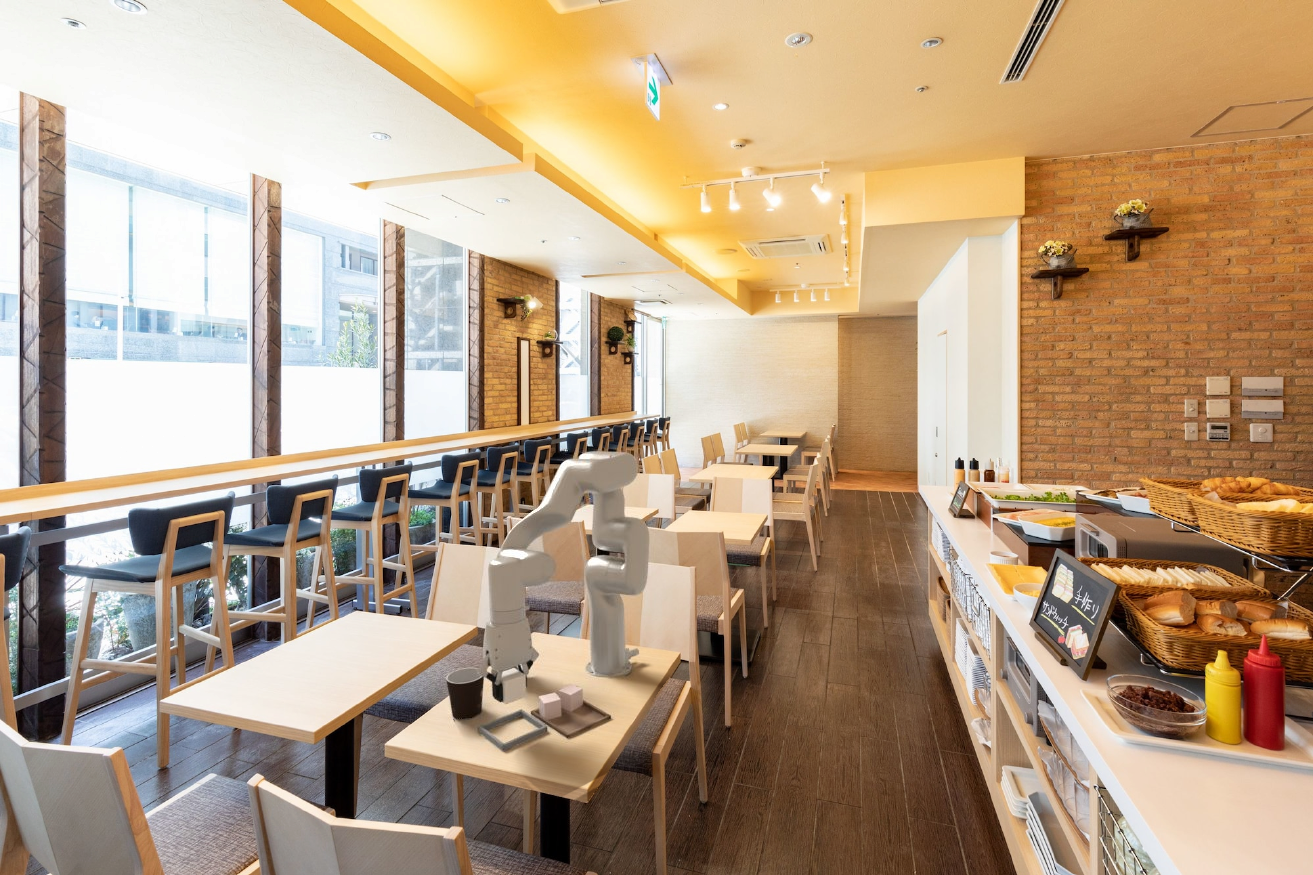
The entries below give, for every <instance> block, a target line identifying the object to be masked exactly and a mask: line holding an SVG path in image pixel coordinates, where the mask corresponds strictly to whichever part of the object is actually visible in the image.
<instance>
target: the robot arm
mask: <svg viewBox="0 0 1313 875" xmlns="http://www.w3.org/2000/svg"><path fill="white" fill-rule="evenodd" d="M638 473H639V464H638V460H637V458H636V456H634V455H633V454H631V453H629V452H625V451H602V450H601V451H599V450H596V451H595V450H593V451H586V452H583V453H582V454H580V455H579V456H578V458H570V459H569V458H568V459H566V460H564V461H563V462H561V464H560V465H559V467H558V468H557V471H556V472H555V475H554V476H553V479H552V480H551V483H550V484H549V486H548V488H547V491H546V493H545V495H544V497H542V498H543V499H542V501H541V502H540V504H539V506H538V507H537V508H535V509H534V510H532V511H531V512H530V513H528V514H527V515H526V516H525V517H524V518H522V519H521V520H520V521H518V523H516V524H515V525H514V526H513V527H512V528H511V529H510V531H509V532H508V533H507V535H506V537H505V538H504V541H503V543H502V544H501V546H500V548H499V550H498V552H497V556H496V558H493V559H492V560H491V561H490V562H489V563H488V567H487V568H488V600H489V601H488V602H489V606H488V607H489V621H488V622H485V623H486V624H485V629H484V633H483V634H484V636H483V647H482V661H481V664H480V665H479V667H478V668H479V669H478V670H477V673H478V674H479V675H481V676H483V677H484V679H487V680H488V681H489V682H491V689H492V691H491V692H492V694H491V695H492V697H493V699H494V700H496V701H498V702H499V703H503V685H502V683H501V677H502V673H503V670H504V669H508V668H511V667H514V666H517V669H518V671H520V672H522V673H524V674H525V675H526V688H527V687H528V682H527V681H528V678H527V676H528V675H529V673H530V670H531V668H532V666H533V664H534V662H536V661H537V659H538V658H539V656H540V653H539V652H538V651H537V649H536V648H535V647H533V640H532V632H531V627H530V622H529V619H528V616H527V615H526V612H527V611H529V610H530V607H531V606H530V605H529V604H528V603H525V599H526V598H525V588H528V587H529V588H530V587H536V586H541V585H544V584H547V583H548V582H550V580H551V579H553V577H554V575H555V574H556V569H557V564H556V561H555V558H554V557H553V556H552V555H551V554H549V553H547V552H544V551H540V550H539V551H538V550H532V549H528V548H529V547H530V545H531V544H532V543H533V542H535V541H536V539H538V538H540V537H541V536H544V535H546V534H549V533H551V532H553V531H556V530H558V529H561V528H564V527H566V526H568V525H569V524H570V523H571V522H572V521H573V518H574V516H575V514H576V512H577V510H578V509H579V508H578V507H579V505H580V504H581V502H582V499H583V498H584V495H585V494H592V499H593V503H592V504H593V508H592V523H591V524H592V526H591V527H592V528H591V541H592V544H593V545H594V547H595V548H597V549H599V550H602V551H607V552H613V553H614V552H616V553H623V554H624V557H620V556H614V555H607V554H606V555H605V554H602V555H601V554H600V555H595V556H592V557H591V558H589V559H588V560H587V562H586V564H585V566H584V570H583V577H584V584H585V588H586V592H587V597H588V614H589V615H588V617H589V618H588V619H589V642H590V643H589V644H590V646H589V648H590V650H589V651H590V662H588V663H587V664H586V665H585V672H586V673H587V674H589V675H590V676H594V677H598V678H612V677H618V676H627V675H628V674H629V673H630V672H631V671H632V667H633V666H632V663H631V662H630V660H631V658H633V657H636V656H638V655H639V654H640V650H639V648H637V647H635V648H632V649H630V648H629V647H626V628H625V626H626V625H625V622H626V621H625V620H626V619H625V605H624V602H623V598H622V595H624V596H629V597H630V596H632V597H634V596H639V595H641V594H642V593H643V591H644V590H645V589H646V586H647V582H648V575H649V574H648V573H649V558H650V556H649V554H650V532H649V527H648V525H647V523H646V522H645V521H644V520H643V519H641V518H639V517H633V516H631V517H630V516H626V515H625V509H626V508H625V501H626V500H625V494H624V492H623V490H622V488H624V487H627V486H629V485H630V484H632V483H633V482H634V481H635V479H637V476H638ZM489 667H491V670H490V672H489V671H488V669H489Z"/></svg>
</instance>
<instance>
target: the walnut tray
mask: <svg viewBox="0 0 1313 875" xmlns="http://www.w3.org/2000/svg"><path fill="white" fill-rule="evenodd" d="M530 715H531V716H533V717H534V718H536V719H537V720H539V721H540V722H542V723H543V724H545V725H546V726H547V727H548V728H551V729H552V730H553V731H555V732H557V733H559V734H560V735H561V736H562V737H564V738H566V739H570V738H572V737H574V736H577V735H579V734H581V733H583V732H585V731H587V730H589V729H591V728H594V727H596V726H598V725H600V724H603V723H605V722H606V721H609V720H611V719H612V716H611V714H609V713H607V712H606V711H604V710H602V709H600V708H599V707H598V706H594V705H593V704H591V703H590V702H588V701H586V700H584V699H583V705H582V706H580V707H578V708H577V709H575V710H573V711H568V710H566V709H563V708H561V716H560V717H556V718H552V719H549V720H547V719H545V718H544V717H542V716H541V715H540V713H539V707H538V708H535V709H533V710H530Z"/></svg>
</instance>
